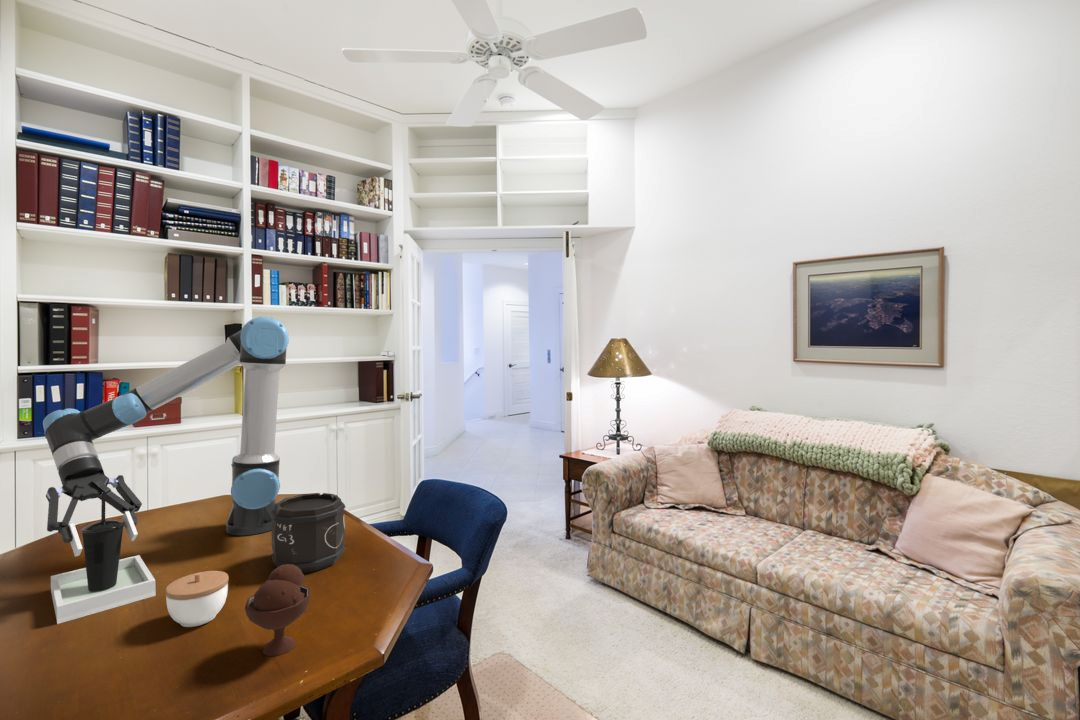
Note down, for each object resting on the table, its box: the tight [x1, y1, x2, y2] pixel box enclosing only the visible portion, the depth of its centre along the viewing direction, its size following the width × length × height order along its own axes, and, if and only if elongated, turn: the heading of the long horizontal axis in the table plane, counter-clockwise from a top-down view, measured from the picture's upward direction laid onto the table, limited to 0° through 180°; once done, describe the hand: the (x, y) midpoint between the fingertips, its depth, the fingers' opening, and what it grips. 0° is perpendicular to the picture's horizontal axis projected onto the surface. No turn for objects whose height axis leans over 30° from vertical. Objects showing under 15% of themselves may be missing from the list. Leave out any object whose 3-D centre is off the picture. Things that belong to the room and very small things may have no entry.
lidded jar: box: [164, 570, 229, 628], centre depth 103 cm, size 11×11×9 cm
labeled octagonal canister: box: [270, 492, 347, 574], centre depth 132 cm, size 18×18×16 cm
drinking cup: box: [80, 498, 125, 591], centre depth 114 cm, size 8×8×20 cm
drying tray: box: [50, 554, 157, 625], centre depth 114 cm, size 20×16×4 cm
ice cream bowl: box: [244, 564, 311, 657], centre depth 93 cm, size 11×11×15 cm
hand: (107, 544), depth 112 cm, fingers open, 9 cm apart
